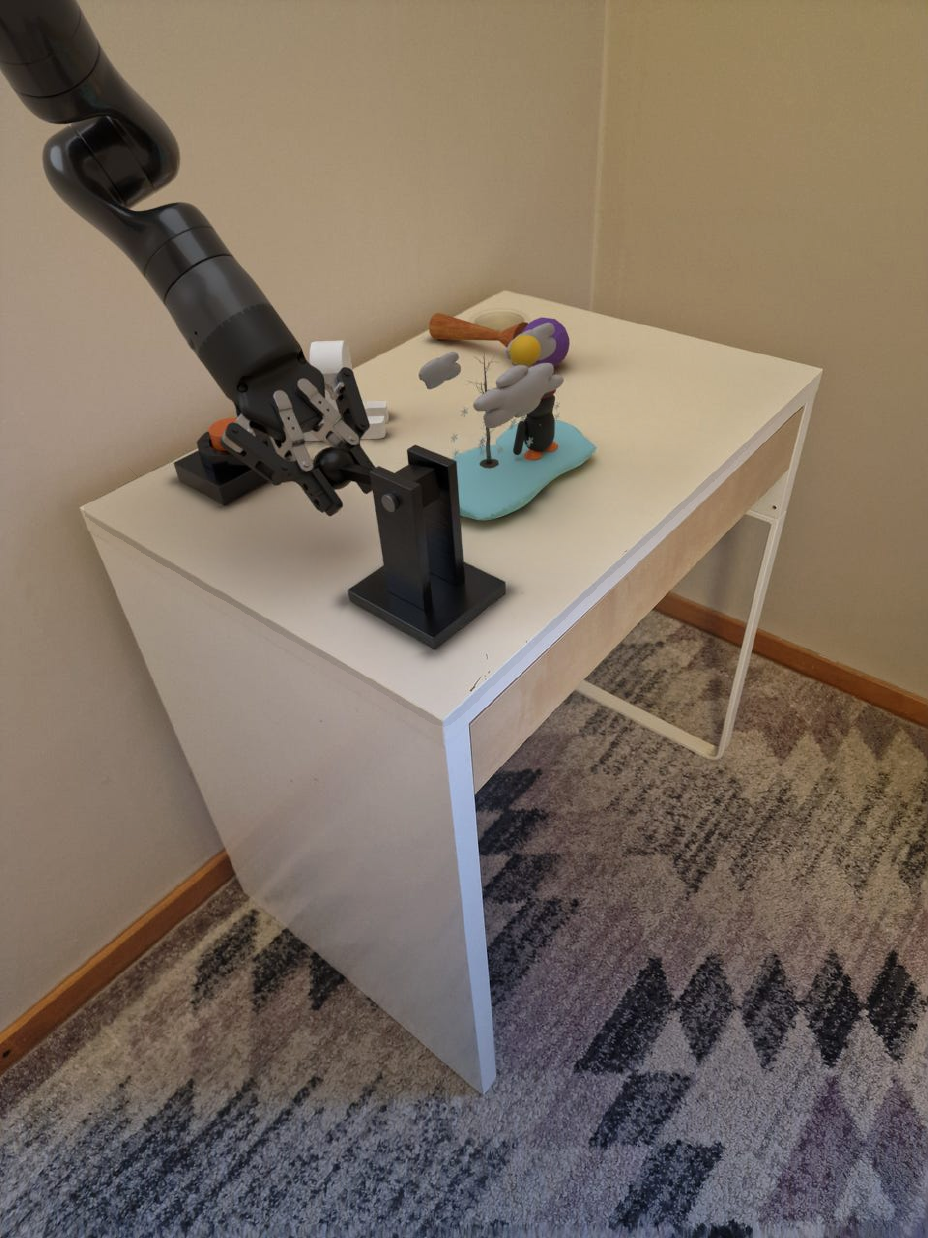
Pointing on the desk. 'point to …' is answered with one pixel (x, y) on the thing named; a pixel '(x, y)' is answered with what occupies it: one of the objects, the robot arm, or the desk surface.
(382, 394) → the desk surface
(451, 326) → the kendama
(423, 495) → the lever
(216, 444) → the button
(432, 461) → the switch bracket
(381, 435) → the white mounting bracket
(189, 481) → the button housing
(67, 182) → the robot arm
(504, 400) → the penguin figurine
